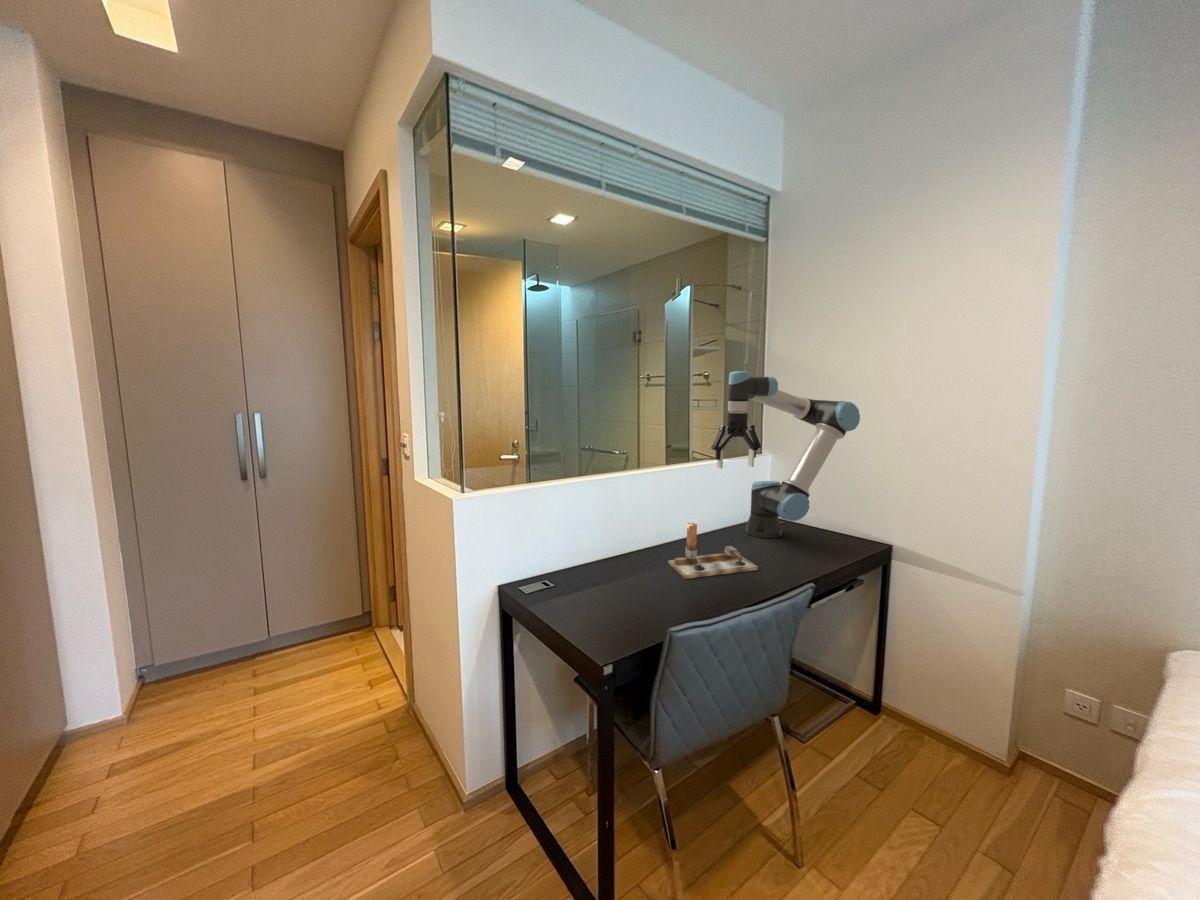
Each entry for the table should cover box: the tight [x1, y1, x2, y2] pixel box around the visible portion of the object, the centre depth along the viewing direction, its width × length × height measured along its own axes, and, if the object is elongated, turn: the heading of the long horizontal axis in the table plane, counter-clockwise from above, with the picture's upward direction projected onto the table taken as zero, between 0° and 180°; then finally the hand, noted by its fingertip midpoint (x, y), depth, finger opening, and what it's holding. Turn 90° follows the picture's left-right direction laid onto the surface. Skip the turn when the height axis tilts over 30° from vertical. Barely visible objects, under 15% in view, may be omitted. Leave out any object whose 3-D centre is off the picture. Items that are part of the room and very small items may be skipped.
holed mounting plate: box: [667, 545, 759, 580], centre depth 170 cm, size 28×14×5 cm, turn 106°
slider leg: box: [684, 522, 701, 568], centre depth 168 cm, size 3×9×13 cm, turn 16°
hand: (735, 467), depth 184 cm, fingers open, 13 cm apart
